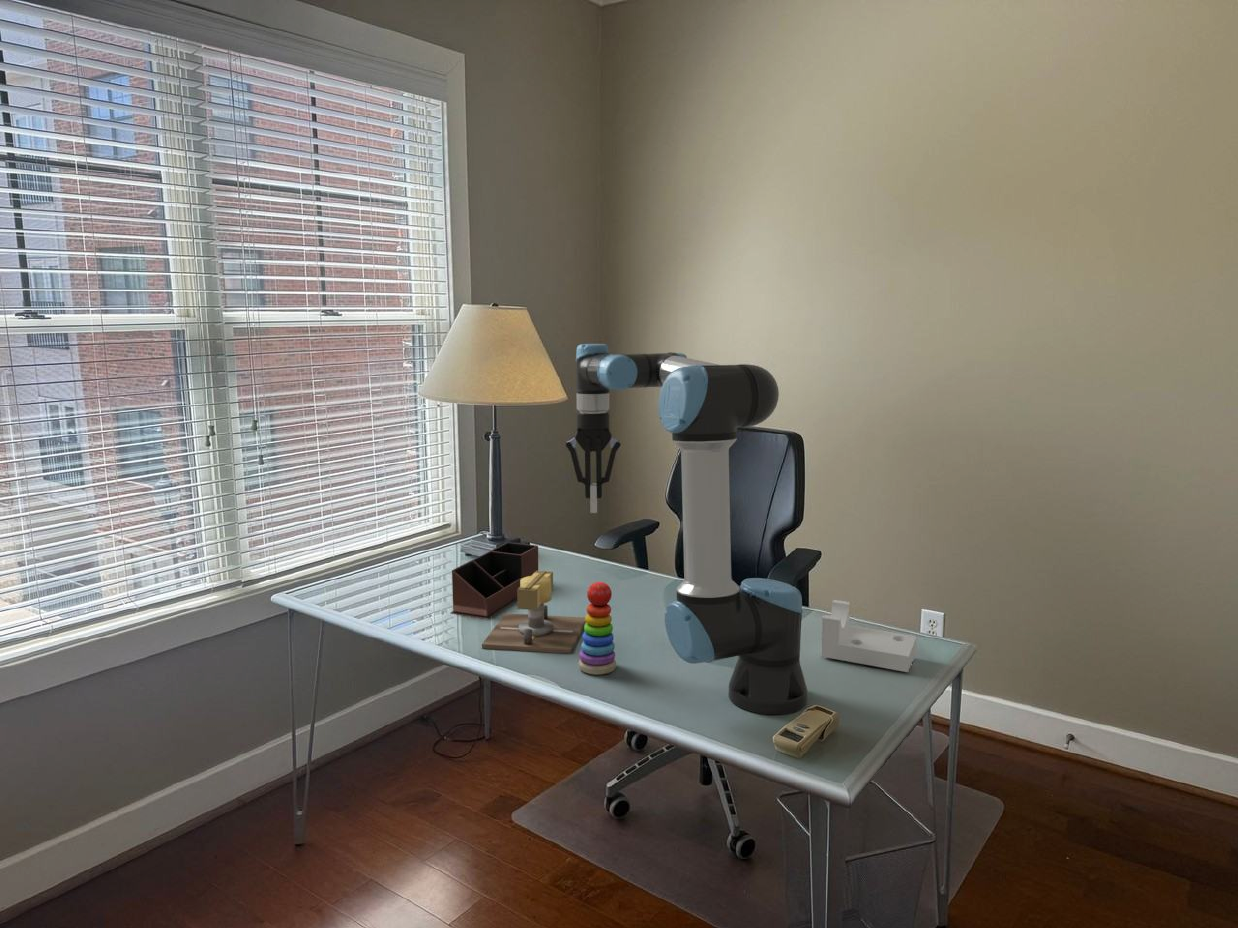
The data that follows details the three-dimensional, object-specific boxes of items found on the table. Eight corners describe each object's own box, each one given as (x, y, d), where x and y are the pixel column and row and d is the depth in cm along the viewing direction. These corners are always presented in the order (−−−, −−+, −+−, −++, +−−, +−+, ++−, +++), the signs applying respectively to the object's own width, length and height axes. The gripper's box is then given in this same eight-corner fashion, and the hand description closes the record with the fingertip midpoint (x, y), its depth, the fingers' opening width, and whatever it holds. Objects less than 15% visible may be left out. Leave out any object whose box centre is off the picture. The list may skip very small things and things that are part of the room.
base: (570, 653, 195) (570, 617, 193) (481, 648, 198) (481, 612, 196) (586, 621, 214) (586, 588, 213) (505, 617, 217) (504, 584, 216)
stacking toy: (602, 679, 182) (603, 591, 178) (570, 670, 186) (570, 584, 183) (623, 666, 188) (624, 581, 185) (591, 658, 192) (591, 574, 189)
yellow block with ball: (530, 588, 212) (530, 569, 211) (559, 590, 211) (558, 571, 210) (511, 608, 198) (511, 587, 197) (541, 610, 197) (541, 589, 196)
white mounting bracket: (821, 661, 193) (822, 617, 190) (832, 642, 201) (833, 599, 198) (907, 677, 185) (910, 631, 182) (915, 656, 193) (917, 612, 190)
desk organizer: (541, 585, 243) (540, 544, 241) (487, 620, 216) (486, 575, 214) (506, 580, 246) (506, 540, 244) (449, 614, 219) (448, 570, 217)
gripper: (621, 409, 209) (621, 508, 213) (565, 409, 209) (567, 508, 213) (621, 413, 202) (621, 515, 205) (563, 413, 202) (564, 515, 206)
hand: (593, 511), depth 209 cm, fingers closed
